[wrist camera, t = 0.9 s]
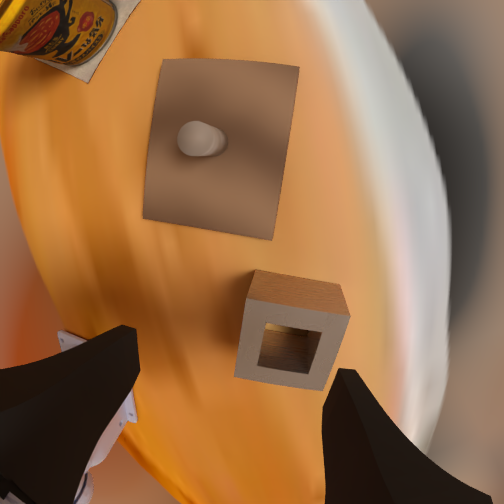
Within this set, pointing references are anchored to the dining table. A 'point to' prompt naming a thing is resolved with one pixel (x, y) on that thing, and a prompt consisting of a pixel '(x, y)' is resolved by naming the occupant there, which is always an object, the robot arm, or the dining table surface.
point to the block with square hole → (288, 345)
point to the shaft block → (219, 144)
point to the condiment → (63, 31)
